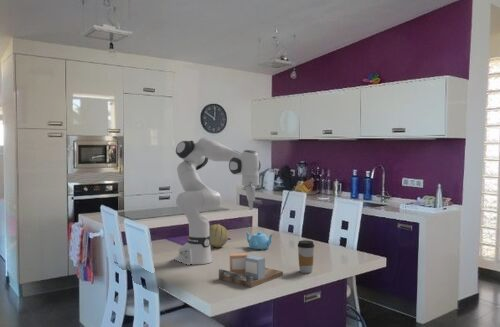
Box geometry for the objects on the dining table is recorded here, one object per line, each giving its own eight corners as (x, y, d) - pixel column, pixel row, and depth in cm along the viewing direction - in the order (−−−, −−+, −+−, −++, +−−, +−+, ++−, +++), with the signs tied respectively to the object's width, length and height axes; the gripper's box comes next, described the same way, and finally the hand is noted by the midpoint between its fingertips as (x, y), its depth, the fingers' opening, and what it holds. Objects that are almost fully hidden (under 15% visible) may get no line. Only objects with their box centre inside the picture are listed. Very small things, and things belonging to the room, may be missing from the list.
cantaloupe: (202, 249, 262) (202, 225, 262) (207, 244, 277) (207, 221, 276) (226, 250, 260) (225, 225, 260) (229, 245, 275) (229, 222, 274)
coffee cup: (317, 272, 209) (317, 242, 209) (302, 274, 207) (302, 244, 206) (309, 268, 217) (309, 239, 217) (294, 270, 214) (294, 240, 214)
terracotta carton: (229, 271, 204) (229, 253, 204) (246, 271, 205) (246, 252, 205) (230, 275, 199) (230, 256, 199) (247, 274, 200) (247, 255, 200)
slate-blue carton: (251, 274, 200) (251, 255, 200) (265, 277, 195) (265, 258, 195) (244, 276, 196) (244, 257, 196) (257, 280, 191) (257, 260, 191)
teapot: (266, 245, 275) (266, 229, 274) (274, 250, 260) (274, 233, 260) (244, 246, 270) (244, 230, 270) (252, 251, 256) (252, 234, 256)
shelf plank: (218, 279, 199) (218, 269, 199) (251, 268, 218) (251, 259, 218) (250, 287, 186) (250, 277, 186) (282, 275, 205) (282, 266, 205)
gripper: (257, 183, 208) (257, 211, 208) (255, 180, 228) (255, 205, 229) (245, 183, 208) (245, 211, 208) (243, 180, 228) (243, 205, 228)
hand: (250, 208), depth 218 cm, fingers open, 8 cm apart
